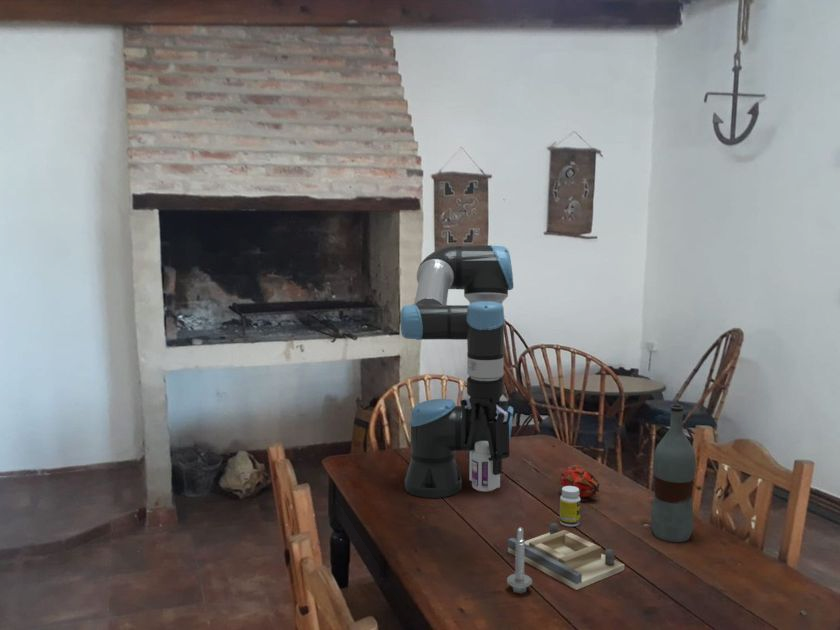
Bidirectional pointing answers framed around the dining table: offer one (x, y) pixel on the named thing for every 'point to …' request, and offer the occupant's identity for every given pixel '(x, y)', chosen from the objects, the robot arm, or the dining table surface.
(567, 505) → the supplement bottle
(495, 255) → the robot arm
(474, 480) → the pill bottle
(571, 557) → the jig
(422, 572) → the dining table surface
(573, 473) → the dragon fruit
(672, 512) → the vodka
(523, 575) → the screw
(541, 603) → the dining table surface
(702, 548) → the dining table surface
